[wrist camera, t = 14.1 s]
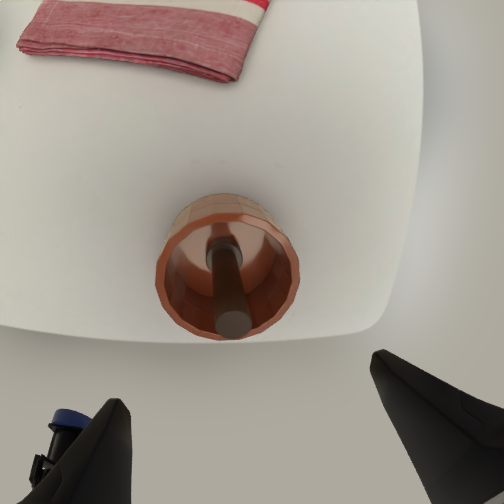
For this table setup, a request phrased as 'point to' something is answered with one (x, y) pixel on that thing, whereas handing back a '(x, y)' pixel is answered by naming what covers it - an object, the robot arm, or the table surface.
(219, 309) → the dark brown collared rod
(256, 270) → the bowl
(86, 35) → the dish towel
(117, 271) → the table surface
